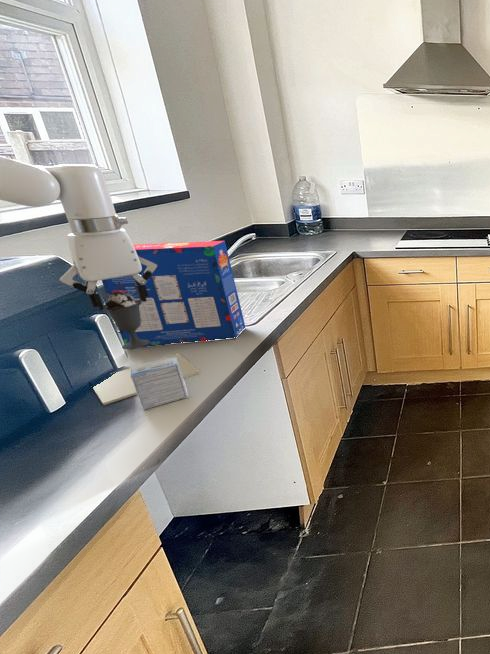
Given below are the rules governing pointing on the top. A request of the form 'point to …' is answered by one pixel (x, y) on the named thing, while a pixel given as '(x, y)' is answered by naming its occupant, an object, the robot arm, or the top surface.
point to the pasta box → (184, 294)
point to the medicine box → (159, 383)
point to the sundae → (126, 316)
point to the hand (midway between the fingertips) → (122, 304)
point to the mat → (124, 387)
